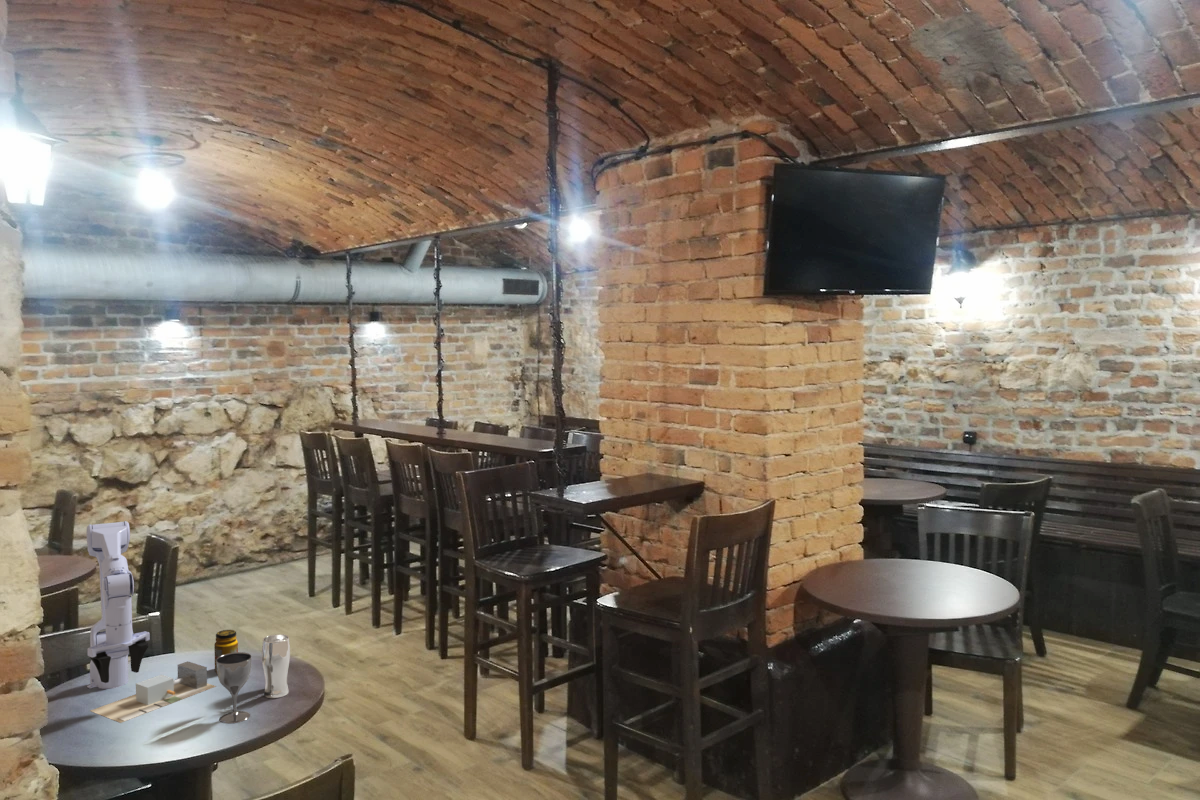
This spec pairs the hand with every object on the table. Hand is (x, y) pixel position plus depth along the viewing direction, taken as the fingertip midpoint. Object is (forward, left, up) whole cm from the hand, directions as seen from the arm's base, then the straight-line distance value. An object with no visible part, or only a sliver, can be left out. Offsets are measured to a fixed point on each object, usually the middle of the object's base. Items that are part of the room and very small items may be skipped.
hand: (120, 676), depth 214 cm
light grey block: (+1, +11, -9) cm, 14 cm away
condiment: (-1, +30, -10) cm, 32 cm away
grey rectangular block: (0, +19, -9) cm, 21 cm away
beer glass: (+22, +29, -10) cm, 37 cm away
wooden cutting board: (0, +9, -10) cm, 13 cm away
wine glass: (+25, +14, -10) cm, 30 cm away
